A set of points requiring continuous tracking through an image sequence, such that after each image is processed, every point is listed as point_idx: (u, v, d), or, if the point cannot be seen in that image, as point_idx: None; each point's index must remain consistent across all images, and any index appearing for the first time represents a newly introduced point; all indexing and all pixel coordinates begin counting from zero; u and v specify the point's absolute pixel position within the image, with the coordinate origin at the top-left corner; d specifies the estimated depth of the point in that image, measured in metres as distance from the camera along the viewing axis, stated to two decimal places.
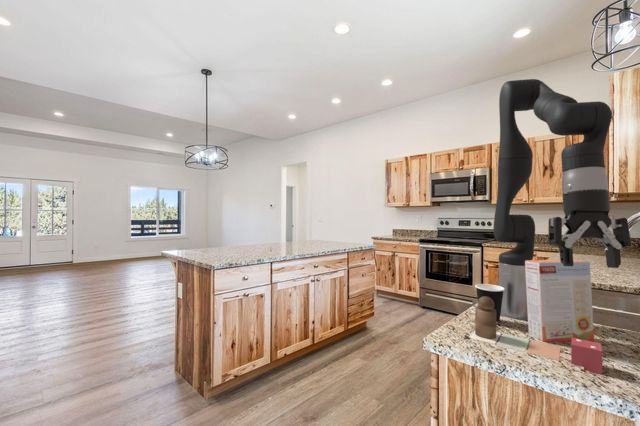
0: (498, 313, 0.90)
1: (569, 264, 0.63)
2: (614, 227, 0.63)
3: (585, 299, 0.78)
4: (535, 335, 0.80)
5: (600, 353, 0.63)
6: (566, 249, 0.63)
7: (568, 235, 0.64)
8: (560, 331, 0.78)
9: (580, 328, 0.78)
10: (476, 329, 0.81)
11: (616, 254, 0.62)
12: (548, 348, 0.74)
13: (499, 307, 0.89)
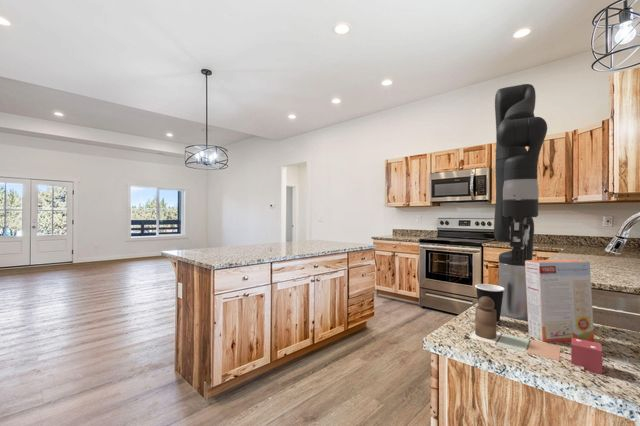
0: (498, 313, 0.90)
1: (521, 263, 0.72)
2: None
3: (585, 299, 0.78)
4: (535, 335, 0.80)
5: (599, 353, 0.63)
6: (520, 250, 0.72)
7: (518, 237, 0.73)
8: (560, 331, 0.78)
9: (580, 328, 0.78)
10: (476, 329, 0.81)
11: (526, 249, 0.79)
12: (548, 348, 0.74)
13: (499, 307, 0.89)
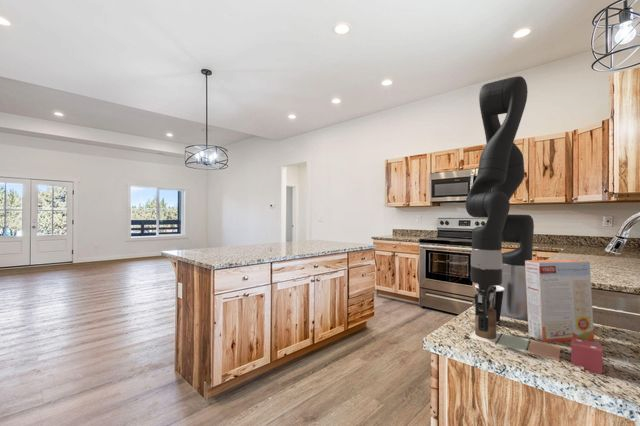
0: (498, 313, 0.90)
1: (486, 330, 0.78)
2: None
3: (585, 299, 0.78)
4: (535, 335, 0.80)
5: (599, 353, 0.63)
6: (485, 318, 0.78)
7: None
8: (560, 331, 0.78)
9: (580, 328, 0.78)
10: (476, 329, 0.81)
11: None
12: (548, 348, 0.74)
13: (499, 307, 0.89)
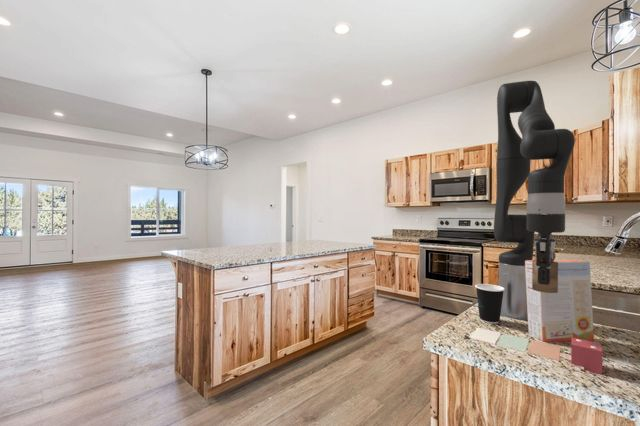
0: (498, 313, 0.90)
1: (548, 283, 0.70)
2: None
3: (585, 299, 0.78)
4: (535, 335, 0.80)
5: (600, 353, 0.63)
6: (547, 270, 0.70)
7: None
8: (560, 331, 0.78)
9: (580, 328, 0.78)
10: (534, 284, 0.73)
11: None
12: (548, 348, 0.74)
13: (499, 307, 0.89)
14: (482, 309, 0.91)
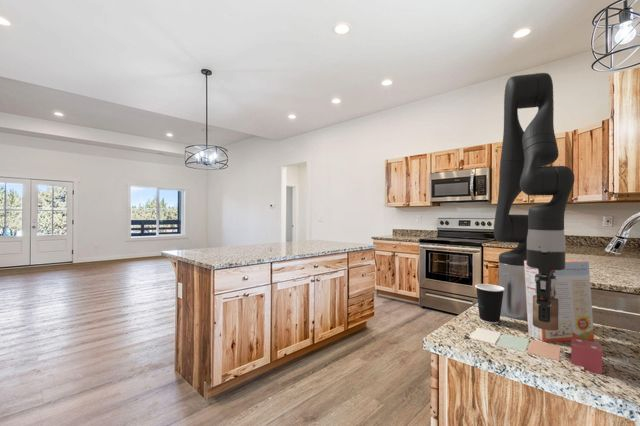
0: (498, 313, 0.90)
1: (548, 320, 0.70)
2: None
3: (585, 298, 0.79)
4: (535, 335, 0.80)
5: (600, 353, 0.63)
6: (547, 307, 0.70)
7: None
8: (560, 330, 0.78)
9: (580, 328, 0.78)
10: (534, 320, 0.73)
11: None
12: (548, 348, 0.74)
13: (499, 307, 0.89)
14: (482, 309, 0.91)
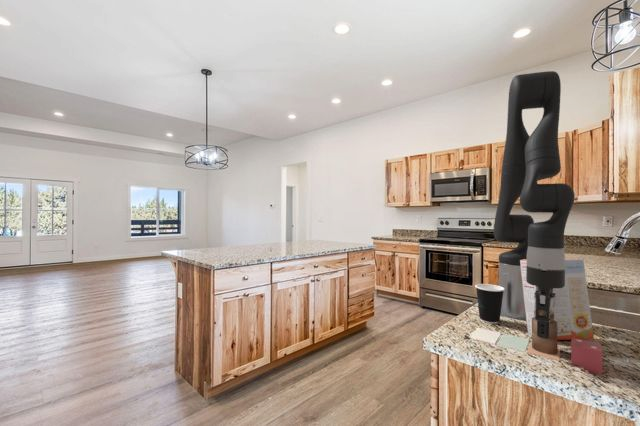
0: (498, 313, 0.90)
1: (547, 337, 0.69)
2: None
3: (582, 296, 0.79)
4: None
5: (600, 353, 0.63)
6: (546, 323, 0.69)
7: None
8: (558, 328, 0.78)
9: (579, 326, 0.78)
10: (534, 343, 0.73)
11: None
12: None
13: (499, 307, 0.89)
14: (482, 309, 0.91)
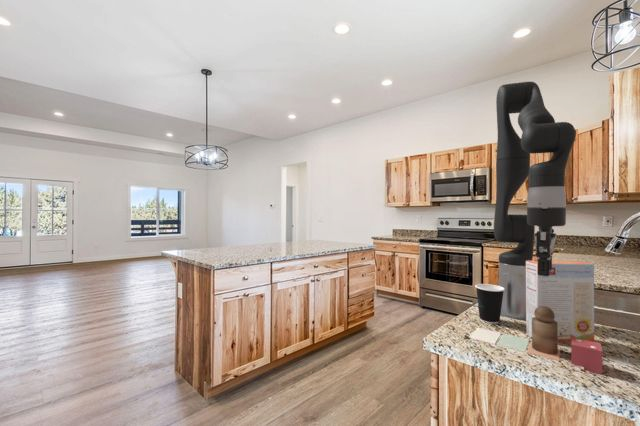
0: (498, 313, 0.90)
1: (548, 274, 0.69)
2: None
3: (587, 301, 0.77)
4: (531, 334, 0.81)
5: (600, 353, 0.63)
6: (547, 261, 0.69)
7: (545, 247, 0.70)
8: (557, 332, 0.78)
9: (579, 330, 0.77)
10: (534, 343, 0.73)
11: (551, 259, 0.75)
12: None
13: (499, 307, 0.89)
14: (482, 309, 0.91)
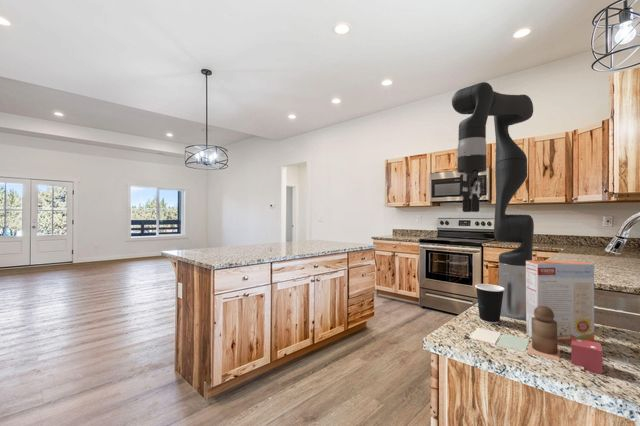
0: (498, 313, 0.90)
1: (470, 210, 0.82)
2: None
3: (587, 301, 0.77)
4: (531, 334, 0.81)
5: (600, 353, 0.63)
6: (469, 199, 0.82)
7: (468, 188, 0.83)
8: (557, 332, 0.78)
9: (579, 330, 0.77)
10: (534, 343, 0.73)
11: None
12: None
13: (499, 307, 0.89)
14: (482, 309, 0.91)
